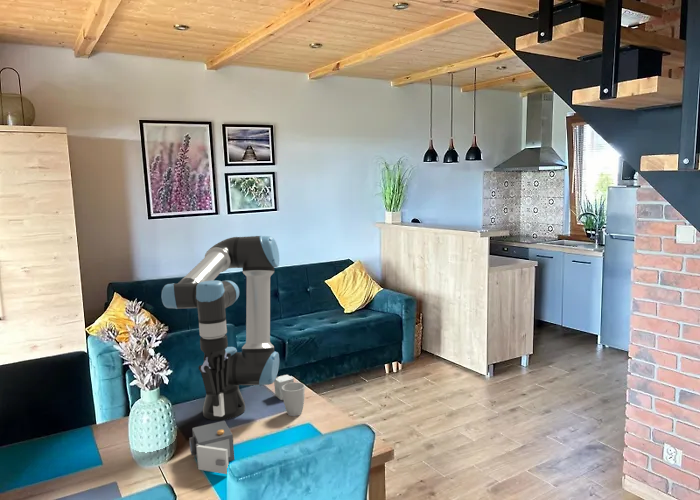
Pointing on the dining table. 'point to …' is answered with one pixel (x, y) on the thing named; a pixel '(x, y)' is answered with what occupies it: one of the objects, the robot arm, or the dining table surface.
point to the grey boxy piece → (213, 438)
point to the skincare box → (281, 384)
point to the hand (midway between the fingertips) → (219, 415)
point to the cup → (293, 398)
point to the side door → (212, 459)
